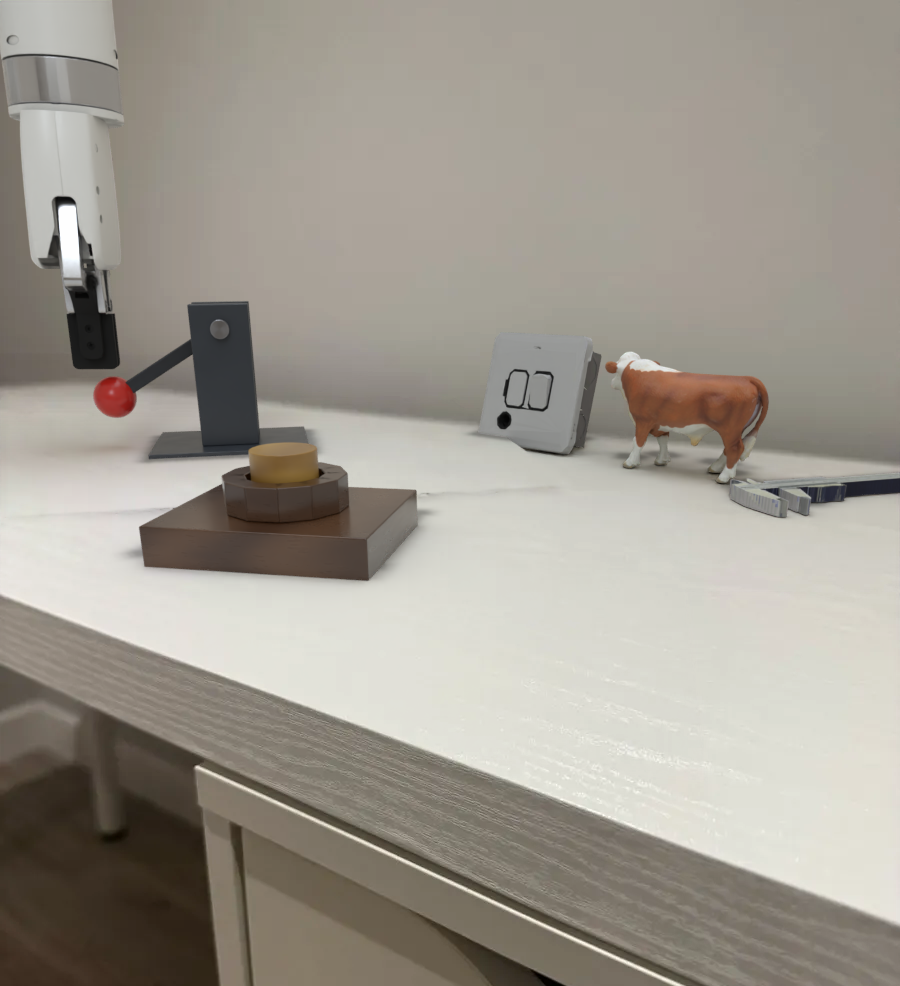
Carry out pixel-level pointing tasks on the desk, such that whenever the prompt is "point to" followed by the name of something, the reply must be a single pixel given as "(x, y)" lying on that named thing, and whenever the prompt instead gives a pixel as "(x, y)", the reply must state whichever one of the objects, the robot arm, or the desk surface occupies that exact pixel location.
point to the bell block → (283, 527)
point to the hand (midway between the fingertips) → (97, 367)
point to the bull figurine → (689, 409)
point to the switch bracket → (223, 388)
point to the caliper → (808, 491)
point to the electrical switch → (540, 390)
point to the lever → (134, 384)
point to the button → (283, 462)
